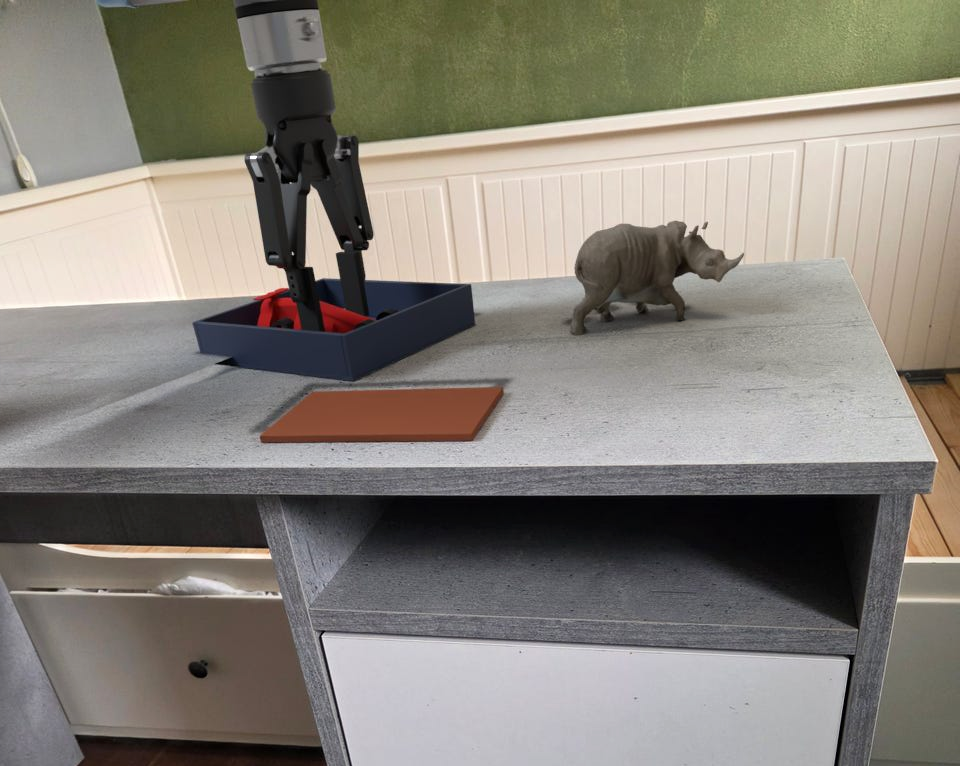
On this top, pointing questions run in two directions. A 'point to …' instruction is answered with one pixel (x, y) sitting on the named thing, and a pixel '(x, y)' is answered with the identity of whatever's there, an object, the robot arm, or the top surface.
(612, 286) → the rhinoceros figurine
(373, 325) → the blue tray
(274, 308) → the toy car
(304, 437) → the mat
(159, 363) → the top surface
